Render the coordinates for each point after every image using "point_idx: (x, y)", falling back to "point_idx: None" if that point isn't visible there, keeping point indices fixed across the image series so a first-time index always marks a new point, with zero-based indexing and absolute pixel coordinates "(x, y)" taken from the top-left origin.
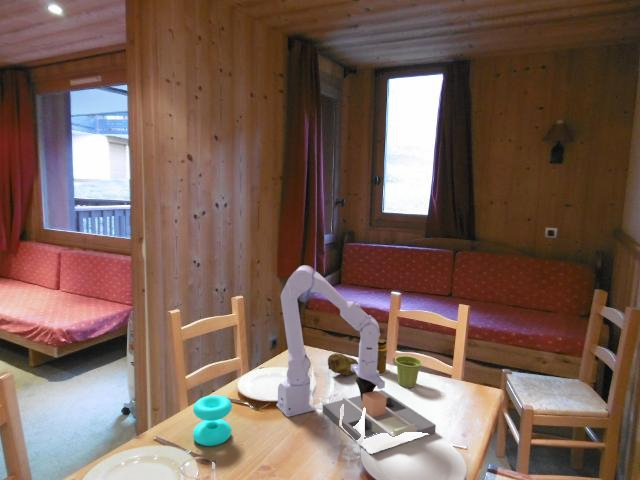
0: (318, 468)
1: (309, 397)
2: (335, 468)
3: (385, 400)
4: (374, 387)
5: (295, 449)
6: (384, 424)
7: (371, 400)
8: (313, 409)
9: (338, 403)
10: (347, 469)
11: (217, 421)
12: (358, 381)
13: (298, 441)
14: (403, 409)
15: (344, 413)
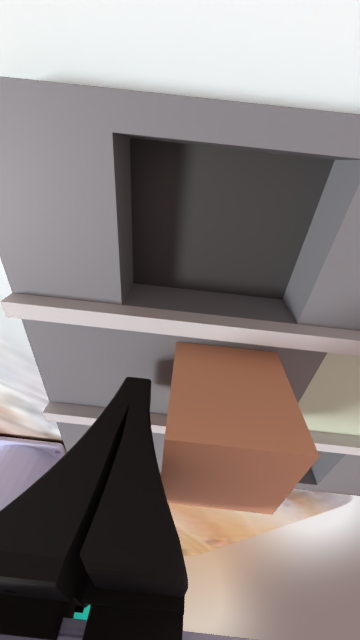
0: (277, 519)
1: (23, 487)
2: (303, 509)
3: (306, 437)
4: (163, 493)
5: (200, 515)
6: (332, 413)
7: (255, 508)
8: (62, 450)
9: (77, 432)
10: (326, 503)
11: None
12: (85, 604)
13: (180, 505)
14: (351, 210)
15: (158, 454)
